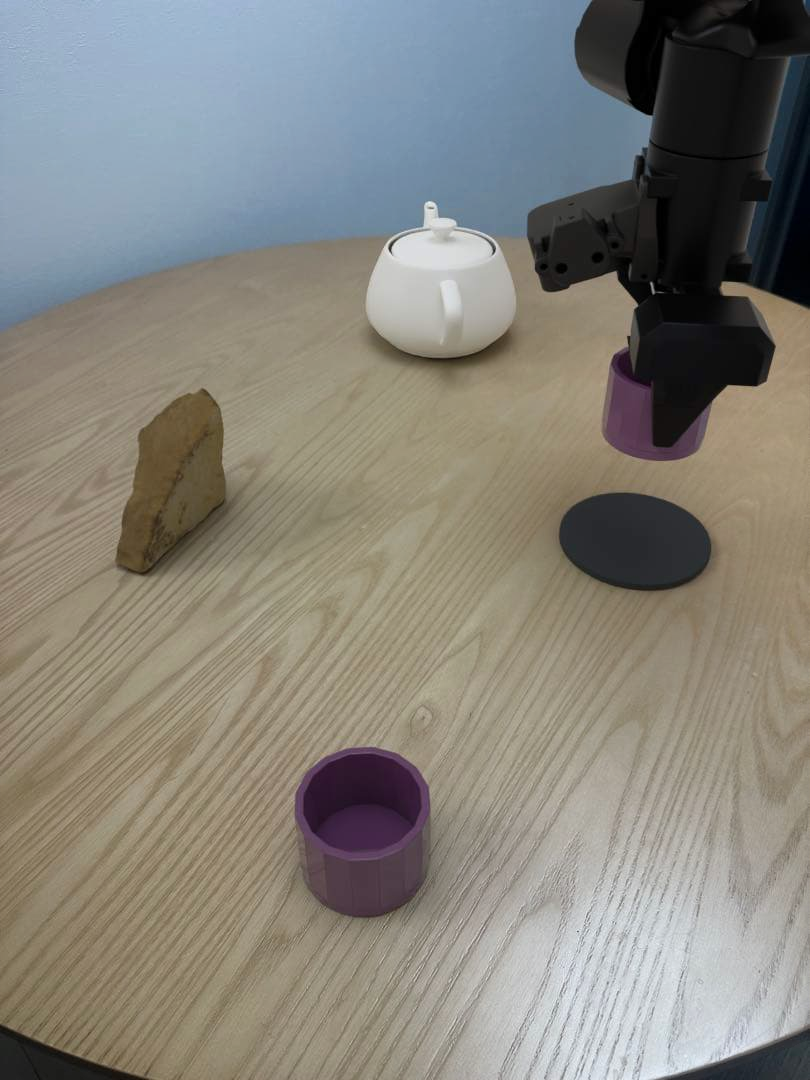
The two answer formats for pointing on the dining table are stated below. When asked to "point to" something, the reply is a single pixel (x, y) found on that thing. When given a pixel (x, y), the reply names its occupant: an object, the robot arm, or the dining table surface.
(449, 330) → the teapot
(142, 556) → the rock
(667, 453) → the purple cup
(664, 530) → the coaster
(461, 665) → the dining table surface
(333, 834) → the purple faceted cup
